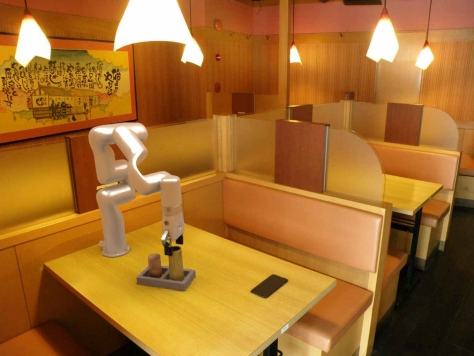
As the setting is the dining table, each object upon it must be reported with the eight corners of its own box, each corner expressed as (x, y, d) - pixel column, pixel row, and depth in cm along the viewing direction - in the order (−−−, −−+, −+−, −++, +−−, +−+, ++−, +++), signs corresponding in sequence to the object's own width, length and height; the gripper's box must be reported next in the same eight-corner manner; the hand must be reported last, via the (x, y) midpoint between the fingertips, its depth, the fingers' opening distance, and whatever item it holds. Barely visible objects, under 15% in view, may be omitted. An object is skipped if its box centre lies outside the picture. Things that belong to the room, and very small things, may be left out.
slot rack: (136, 284, 151) (136, 277, 151) (150, 270, 161) (149, 264, 161) (184, 291, 146) (184, 284, 145) (195, 276, 156) (195, 270, 155)
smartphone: (266, 300, 139) (289, 281, 151) (266, 298, 139) (289, 279, 151) (248, 293, 144) (272, 275, 156) (248, 291, 144) (272, 273, 156)
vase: (181, 286, 149) (179, 252, 145) (167, 284, 150) (164, 251, 146) (187, 278, 154) (184, 245, 151) (172, 276, 156) (170, 244, 152)
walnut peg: (147, 281, 153) (145, 258, 151) (153, 275, 158) (151, 253, 155) (158, 282, 152) (156, 260, 149) (164, 276, 156) (162, 254, 154)
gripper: (170, 217, 135) (173, 261, 140) (190, 201, 151) (191, 241, 156) (151, 215, 137) (154, 258, 142) (172, 200, 153) (175, 239, 158)
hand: (174, 249), depth 149 cm, fingers open, 9 cm apart
